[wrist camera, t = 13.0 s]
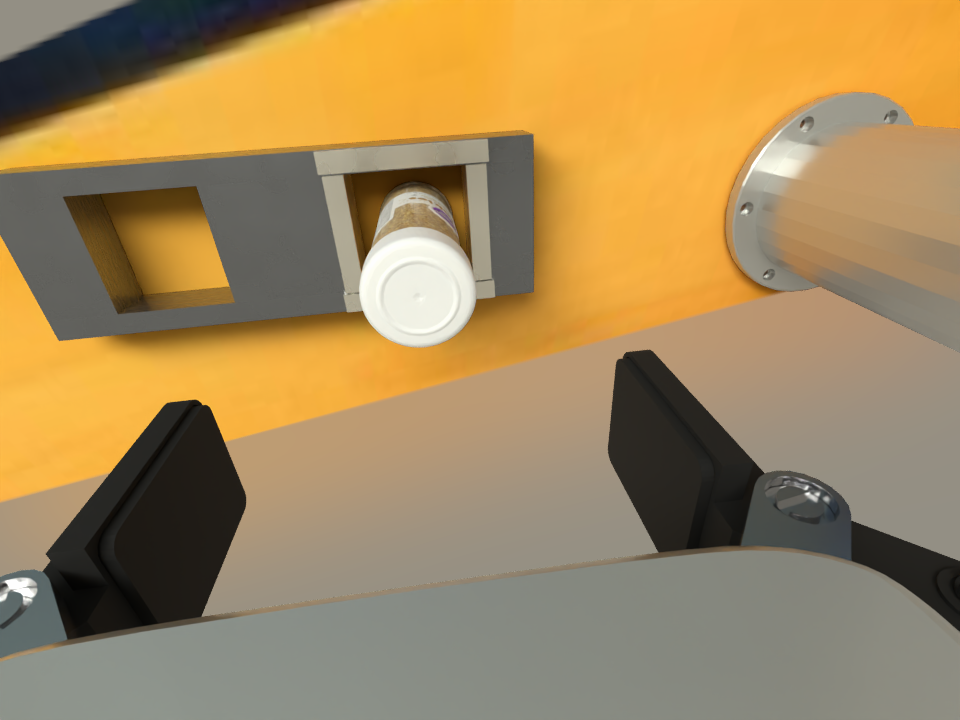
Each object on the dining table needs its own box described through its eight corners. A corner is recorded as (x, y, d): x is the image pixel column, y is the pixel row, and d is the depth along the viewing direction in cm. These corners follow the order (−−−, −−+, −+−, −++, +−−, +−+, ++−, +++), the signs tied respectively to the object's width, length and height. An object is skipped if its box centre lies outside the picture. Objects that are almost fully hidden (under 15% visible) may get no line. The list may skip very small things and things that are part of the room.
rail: (521, 130, 28) (534, 134, 25) (523, 276, 33) (534, 293, 30) (12, 167, 26) (-38, 177, 23) (89, 319, 30) (55, 343, 27)
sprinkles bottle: (465, 204, 30) (501, 276, 18) (429, 266, 31) (441, 368, 20) (399, 164, 28) (391, 215, 17) (365, 231, 30) (337, 320, 18)
